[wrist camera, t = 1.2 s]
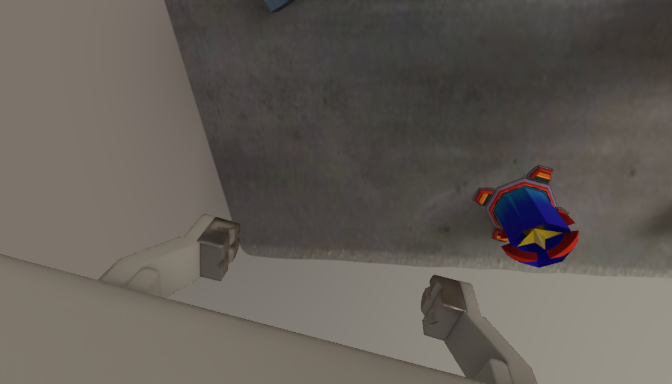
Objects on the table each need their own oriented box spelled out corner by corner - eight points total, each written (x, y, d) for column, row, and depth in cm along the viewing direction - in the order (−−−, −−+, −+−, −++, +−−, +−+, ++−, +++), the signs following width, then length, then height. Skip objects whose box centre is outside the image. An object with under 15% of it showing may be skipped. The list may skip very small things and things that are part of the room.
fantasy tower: (494, 245, 56) (516, 300, 46) (468, 192, 52) (486, 240, 42) (571, 220, 52) (614, 276, 42) (550, 160, 47) (592, 206, 37)
